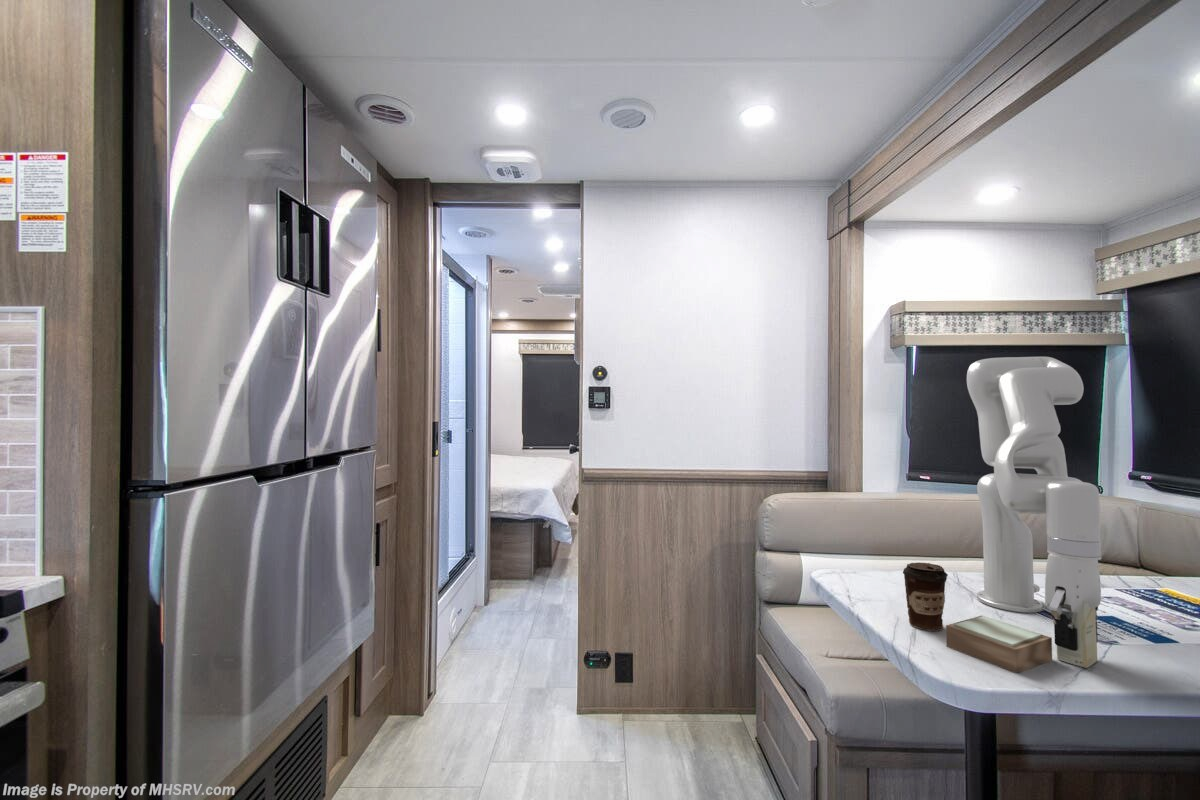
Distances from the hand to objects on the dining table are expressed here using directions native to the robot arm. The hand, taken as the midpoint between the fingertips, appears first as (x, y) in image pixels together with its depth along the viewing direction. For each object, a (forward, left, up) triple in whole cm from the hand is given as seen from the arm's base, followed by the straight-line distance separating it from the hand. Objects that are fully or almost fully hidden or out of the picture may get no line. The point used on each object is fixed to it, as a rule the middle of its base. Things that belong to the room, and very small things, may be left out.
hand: (1076, 643), depth 97 cm
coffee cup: (+10, -22, -3) cm, 24 cm away
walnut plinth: (+10, -8, -3) cm, 13 cm away
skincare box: (0, 0, -3) cm, 3 cm away
